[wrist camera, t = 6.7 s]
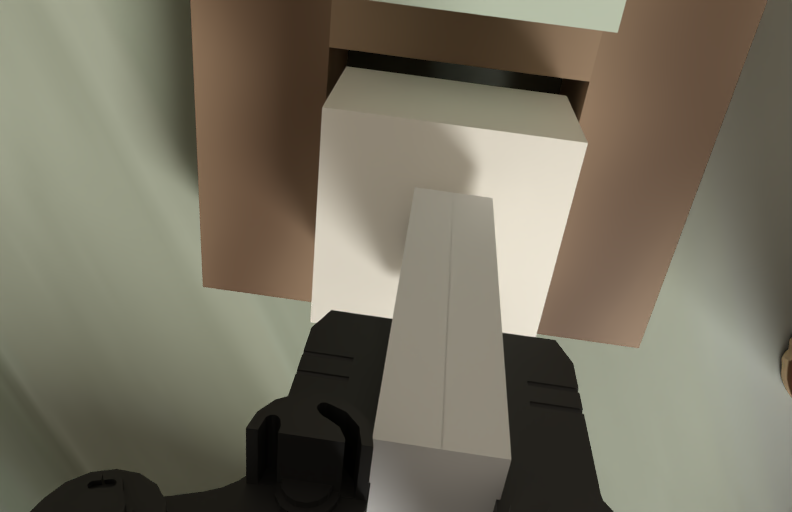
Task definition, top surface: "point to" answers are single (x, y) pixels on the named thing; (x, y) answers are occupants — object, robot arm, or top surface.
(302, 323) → the top surface
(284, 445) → the robot arm
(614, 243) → the brown flat block
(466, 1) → the tile two
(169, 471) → the top surface
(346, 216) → the tile one
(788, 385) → the coffee cup
